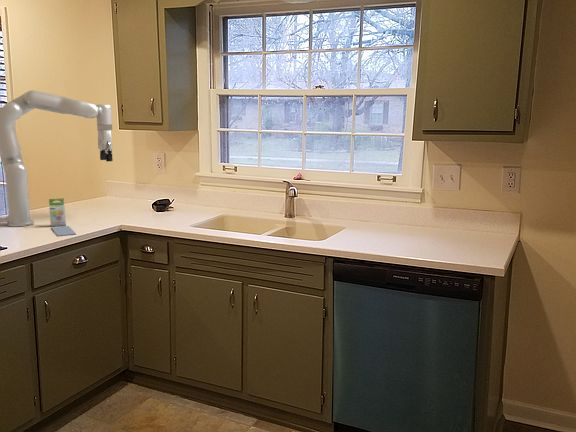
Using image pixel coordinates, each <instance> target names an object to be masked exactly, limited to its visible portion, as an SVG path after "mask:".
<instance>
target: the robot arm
mask: <svg viewBox="0 0 576 432" xmlns="http://www.w3.org/2000/svg"><path fill="white" fill-rule="evenodd" d="M35 109H37V110H41V111H42V110H43V111H47V112H52V113H56V114H62V115H65V114H66V115H73V116H78V117H82V118H86V119H95V118H96V131H97V149H99V159H100V161H105V162H113V137H112V131H113V116H112V113H113V112H112V105H110V104H109V103H98V104H95V103H92V102H87V101H82V100H79V99H72V98H70V97H65V96H61V95H56V94H54V93H53V94H52V93H47V92H43V91H40V90H28V91H27V92H24V93H23V94H21V95H20V96H18V97H16V98H14V99H12V100H10V101H9V102H6V103H5V104H3V106H2V107H1V108H0V161H1V163H2V167H3V170H4V175H5V183H6V184H5V187H6V195H7V197H6V198H7V207H8V208H7V209H8V215H7V216H6V217H0V223H1V222H2V223H5V225H6V226H7V227H13V228H14V227H26V226H32V225H34V224H35V221H34V220H33V219H31V209H30V197H29V187H28V186H29V185H28V169H27V167H26V166H25V164H24V160H23V157H22V152H21V150H22V149H21V145H20V144H19V140H18V136H17V132H16V128H15V125H16V124H15V123H16V121H17V120H19V119H20V118H22V116H24V115H26V114H27V113H29V112H31V111H33V110H35Z"/></svg>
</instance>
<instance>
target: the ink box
mask: <svg viewBox="0 0 576 432" xmlns="http://www.w3.org/2000/svg"><path fill="white" fill-rule="evenodd" d="M64 200H65V199H64V198H49V199H48V203H49V218H50V219H49V220H50V228H51V227H62V226H67V222H66V221H67V220H66V209H65V208H66V207H65V201H64ZM56 201H58V202H56Z"/></svg>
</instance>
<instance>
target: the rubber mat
mask: <svg viewBox="0 0 576 432" xmlns="http://www.w3.org/2000/svg"><path fill="white" fill-rule="evenodd" d="M50 229H51V230H52V231H53V233H54V234H55V235H56V236H57V237H65V236H75V235H77V233H76V231H74V230H73V228H71V227H70V226H69V225H66V226H53V227H51V226H50Z"/></svg>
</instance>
